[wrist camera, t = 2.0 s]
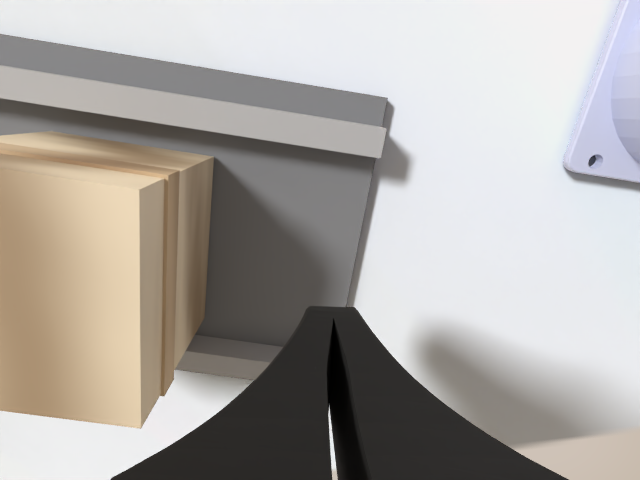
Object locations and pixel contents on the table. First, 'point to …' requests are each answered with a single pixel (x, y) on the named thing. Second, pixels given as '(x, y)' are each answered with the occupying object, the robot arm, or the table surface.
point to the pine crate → (98, 273)
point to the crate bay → (225, 176)
